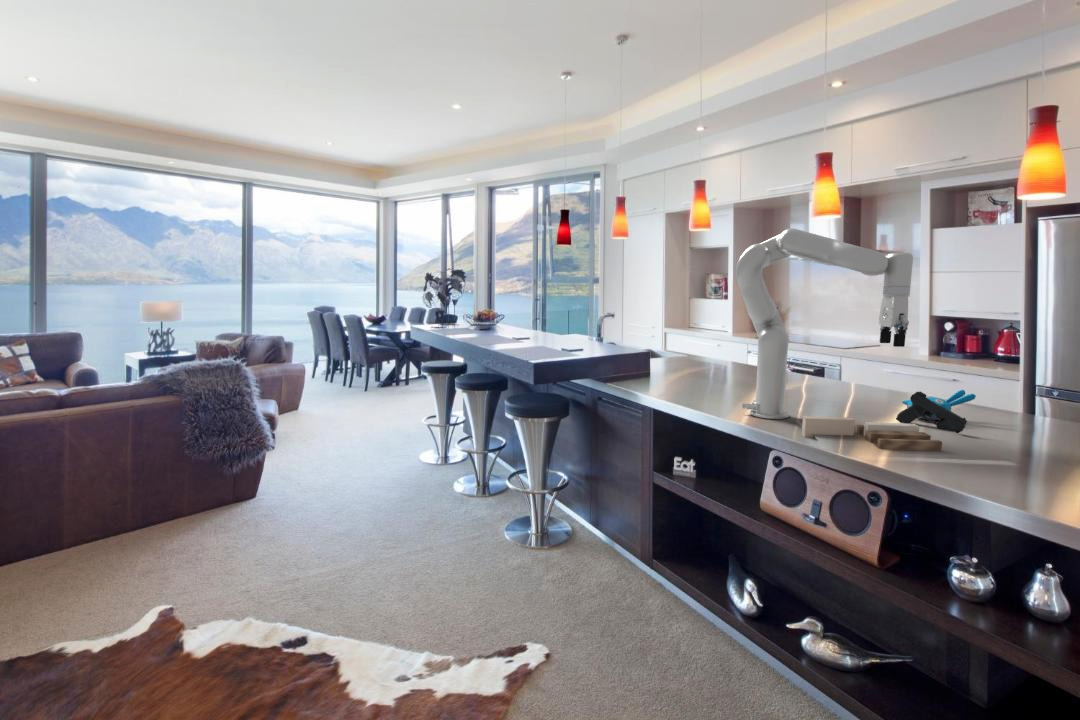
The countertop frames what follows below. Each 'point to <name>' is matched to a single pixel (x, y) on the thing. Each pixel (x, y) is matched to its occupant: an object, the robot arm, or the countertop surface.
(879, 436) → the rack
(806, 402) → the countertop surface
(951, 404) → the toy
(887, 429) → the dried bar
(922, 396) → the handgun
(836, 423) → the clay bar
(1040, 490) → the countertop surface
